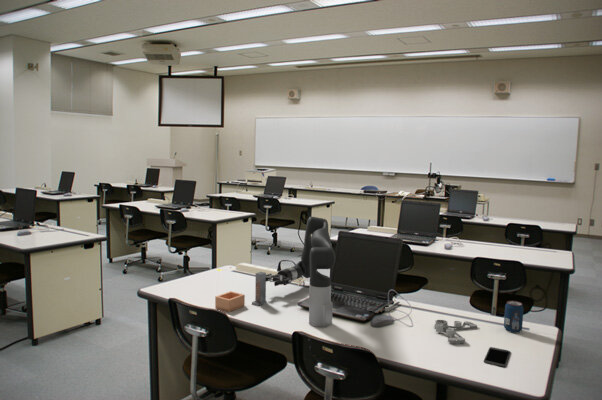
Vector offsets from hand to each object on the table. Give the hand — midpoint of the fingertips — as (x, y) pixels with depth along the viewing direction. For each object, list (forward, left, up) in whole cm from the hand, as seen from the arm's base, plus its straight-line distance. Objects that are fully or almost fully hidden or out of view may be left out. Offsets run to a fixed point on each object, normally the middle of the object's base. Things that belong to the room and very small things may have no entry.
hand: (268, 282), depth 215 cm
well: (+8, +19, -9) cm, 22 cm away
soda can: (-107, -31, -9) cm, 112 cm away
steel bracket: (0, +6, -9) cm, 11 cm away
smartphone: (-106, 0, -10) cm, 107 cm away
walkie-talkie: (-52, -24, -10) cm, 58 cm away
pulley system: (-86, -15, -10) cm, 88 cm away
